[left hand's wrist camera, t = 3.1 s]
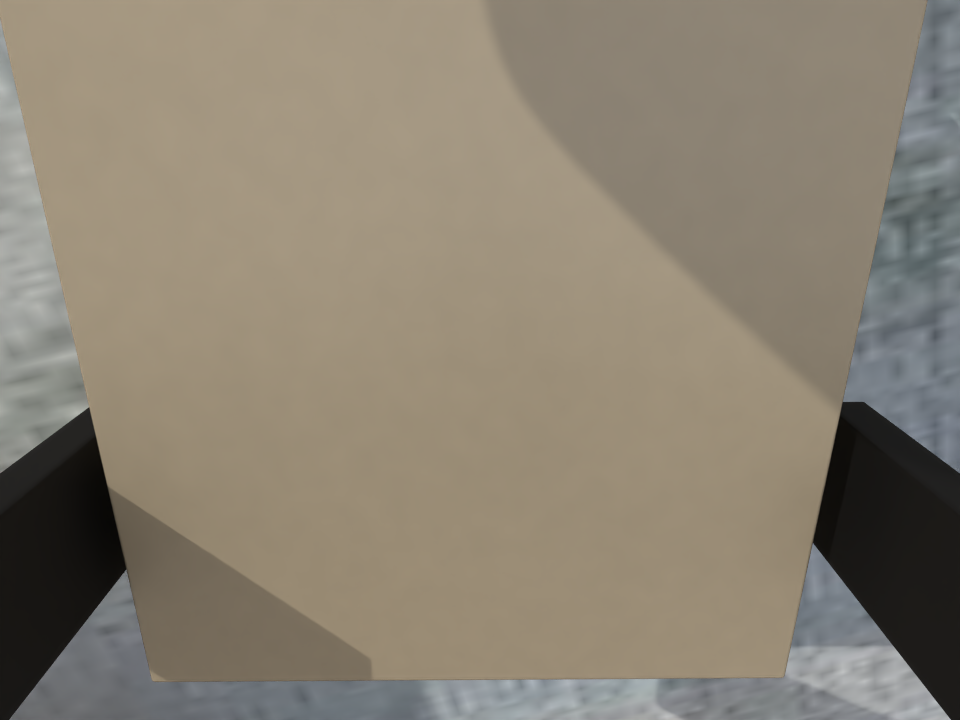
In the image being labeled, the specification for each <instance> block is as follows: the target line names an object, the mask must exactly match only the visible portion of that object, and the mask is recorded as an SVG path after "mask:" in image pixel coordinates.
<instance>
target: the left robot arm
mask: <svg viewBox="0 0 960 720" xmlns="http://www.w3.org/2000/svg"><path fill="white" fill-rule="evenodd" d="M813 543H814V545H815V546H816V547H817V549H818V550H819V551H820V552H821V554H822V555H823V556H824V558H825V559H826V560H827V561H828V563H829V564H830V565H831V567H832V568H833V569H834V570H835V572H836V573H837V574H838V575H839V577H840V578H841V579H842V581H843V582H844V583H845V584H846V586H847V587H848V588H849V590H850V591H851V592H852V593H853V595H854V596H855V597H856V599H857V600H858V601H859V602H860V604H861V605H862V606H863V608H864V609H865V610H866V611H867V613H868V614H869V615H870V616H871V618H872V619H873V620H874V622H875V623H876V624H877V625H878V627H879V628H880V629H881V631H882V632H883V633H884V634H885V636H886V637H887V638H888V640H889V641H890V642H891V643H892V645H893V646H894V647H895V649H896V650H897V651H898V652H899V654H900V655H901V656H902V657H903V659H904V660H905V661H906V663H907V664H908V665H909V666H910V668H911V669H912V670H913V672H914V673H915V674H916V675H917V677H918V678H919V679H920V681H921V682H922V683H923V684H924V686H925V687H926V688H927V690H928V691H929V692H930V693H931V695H932V696H933V697H934V698H935V700H936V701H937V702H938V704H939V705H940V706H941V707H942V709H943V710H944V711H945V713H946V714H947V715H948V716H949V718H950V719H951V720H960V473H958V472H957V471H956V470H954V469H953V468H952V467H950V466H949V465H948V464H946V463H945V462H944V461H942V460H941V459H940V458H938V457H937V456H935V455H934V454H933V453H931V452H930V451H929V450H927V449H926V448H925V447H923V446H922V445H921V444H919V443H918V442H917V441H915V440H914V439H913V438H911V437H910V436H909V435H907V434H906V433H905V432H903V431H902V430H901V429H899V428H898V427H897V426H895V425H894V424H893V423H891V422H890V421H889V420H887V419H886V418H884V417H883V416H882V415H880V414H879V413H878V412H876V411H875V410H874V409H872V408H871V407H870V406H868V405H867V404H866V403H864V402H842V407H841V411H840V416H839V421H838V426H837V430H836V435H835V440H834V444H833V449H832V454H831V459H830V463H829V468H828V473H827V478H826V482H825V487H824V492H823V496H822V501H821V506H820V511H819V515H818V520H817V525H816V529H815V534H814V539H813ZM125 570H126V565H125V560H124V556H123V552H122V547H121V543H120V539H119V534H118V530H117V525H116V521H115V517H114V512H113V508H112V504H111V499H110V495H109V491H108V486H107V482H106V477H105V473H104V469H103V464H102V460H101V456H100V451H99V447H98V443H97V438H96V434H95V429H94V425H93V421H92V416H91V412H90V408H88V409H86V410H85V411H84V412H82V413H81V414H80V415H78V416H77V417H76V418H74V419H73V420H71V421H70V422H69V423H67V424H66V425H65V426H63V427H62V428H61V429H59V430H58V431H57V432H55V433H54V434H53V435H51V436H50V437H49V438H47V439H46V440H45V441H43V442H42V443H41V444H39V445H38V446H37V447H35V448H34V449H33V450H31V451H30V452H29V453H27V454H26V455H25V456H23V457H22V458H20V459H19V460H18V461H16V462H15V463H14V464H12V465H11V466H10V467H8V468H7V469H6V470H4V471H3V472H2V473H0V720H9V719H10V718H11V716H12V715H13V714H14V713H15V711H16V710H17V709H18V707H19V706H20V705H21V704H22V702H23V701H24V700H25V698H26V697H27V696H28V695H29V693H30V692H31V691H32V690H33V688H34V687H35V686H36V684H37V683H38V682H39V681H40V679H41V678H42V677H43V675H44V674H45V673H46V672H47V670H48V669H49V668H50V666H51V665H52V664H53V663H54V661H55V660H56V659H57V657H58V656H59V655H60V654H61V652H62V651H63V650H64V649H65V647H66V646H67V645H68V643H69V642H70V641H71V640H72V638H73V637H74V636H75V634H76V633H77V632H78V631H79V629H80V628H81V627H82V625H83V624H84V623H85V622H86V620H87V619H88V618H89V616H90V615H91V614H92V613H93V611H94V610H95V609H96V608H97V606H98V605H99V604H100V602H101V601H102V600H103V599H104V597H105V596H106V595H107V593H108V592H109V591H110V590H111V588H112V587H113V586H114V584H115V583H116V582H117V581H118V579H119V578H120V577H121V575H122V574H123V573H124V572H125Z"/></svg>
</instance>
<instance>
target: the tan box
mask: <svg viewBox="0 0 960 720" xmlns="http://www.w3.org/2000/svg"><path fill="white" fill-rule="evenodd" d="M927 1H928V0H0V19H1V23H2V28H3V32H4V36H5V41H6V45H7V49H8V54H9V58H10V63H11V67H12V71H13V76H14V80H15V84H16V89H17V93H18V97H19V102H20V106H21V111H22V115H23V119H24V124H25V128H26V132H27V137H28V141H29V146H30V150H31V154H32V159H33V163H34V167H35V172H36V176H37V180H38V185H39V189H40V194H41V198H42V202H43V207H44V211H45V215H46V220H47V224H48V229H49V233H50V237H51V242H52V246H53V250H54V255H55V259H56V263H57V268H58V272H59V277H60V281H61V285H62V290H63V294H64V298H65V303H66V307H67V311H68V316H69V320H70V325H71V329H72V333H73V338H74V342H75V346H76V351H77V355H78V360H79V364H80V368H81V373H82V377H83V381H84V386H85V390H86V394H87V399H88V403H89V408H90V412H91V416H92V421H93V425H94V429H95V434H96V438H97V443H98V447H99V451H100V456H101V460H102V464H103V469H104V473H105V477H106V482H107V486H108V491H109V495H110V499H111V504H112V508H113V512H114V517H115V521H116V525H117V530H118V534H119V539H120V543H121V547H122V552H123V556H124V560H125V565H126V569H127V574H128V578H129V582H130V587H131V591H132V595H133V600H134V604H135V608H136V613H137V617H138V622H139V626H140V630H141V635H142V639H143V643H144V648H145V652H146V657H147V661H148V665H149V670H150V674H151V678H152V681H154V682H210V681H365V680H520V679H675V678H783V677H784V676H785V671H786V666H787V662H788V657H789V652H790V648H791V643H792V638H793V633H794V629H795V624H796V619H797V614H798V610H799V605H800V600H801V596H802V591H803V586H804V581H805V577H806V572H807V567H808V563H809V558H810V553H811V548H812V544H813V539H814V534H815V529H816V525H817V520H818V515H819V511H820V506H821V501H822V496H823V492H824V487H825V482H826V478H827V473H828V468H829V463H830V459H831V454H832V449H833V444H834V440H835V435H836V430H837V426H838V421H839V416H840V411H841V407H842V402H843V397H844V393H845V388H846V383H847V378H848V374H849V369H850V364H851V359H852V355H853V350H854V345H855V341H856V336H857V331H858V326H859V322H860V317H861V312H862V308H863V303H864V298H865V293H866V289H867V284H868V279H869V275H870V270H871V265H872V260H873V256H874V251H875V246H876V241H877V237H878V232H879V227H880V223H881V218H882V213H883V208H884V204H885V199H886V194H887V190H888V185H889V180H890V175H891V171H892V166H893V161H894V156H895V152H896V147H897V142H898V138H899V133H900V128H901V123H902V119H903V114H904V109H905V105H906V100H907V95H908V90H909V86H910V81H911V76H912V71H913V67H914V62H915V57H916V53H917V48H918V43H919V38H920V34H921V29H922V24H923V20H924V15H925V10H926V5H927Z"/></svg>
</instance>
